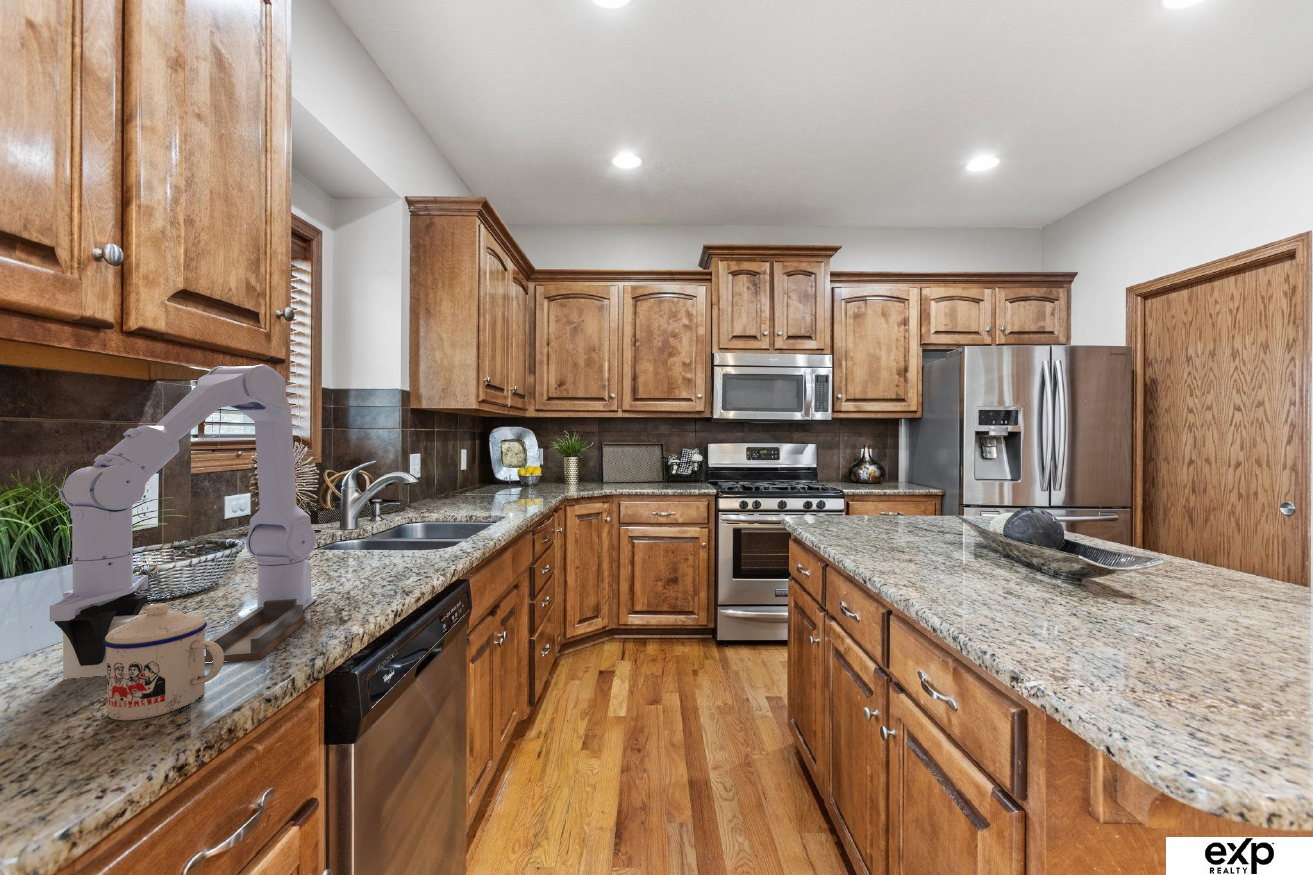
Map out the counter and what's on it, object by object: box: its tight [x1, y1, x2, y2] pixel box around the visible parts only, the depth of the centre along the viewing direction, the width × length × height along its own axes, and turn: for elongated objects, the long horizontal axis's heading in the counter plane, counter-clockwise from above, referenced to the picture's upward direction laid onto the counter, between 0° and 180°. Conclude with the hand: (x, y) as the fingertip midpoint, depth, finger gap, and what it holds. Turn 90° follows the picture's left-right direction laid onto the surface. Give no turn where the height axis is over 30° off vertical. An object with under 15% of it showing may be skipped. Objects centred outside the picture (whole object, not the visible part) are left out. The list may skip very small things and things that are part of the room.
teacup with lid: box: [104, 602, 225, 721], centre depth 66 cm, size 12×9×12 cm
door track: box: [205, 599, 306, 662], centre depth 86 cm, size 16×7×4 cm, turn 13°
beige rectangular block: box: [62, 614, 143, 679], centre depth 75 cm, size 3×7×7 cm, turn 103°
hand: (104, 657), depth 75 cm, fingers open, 4 cm apart
